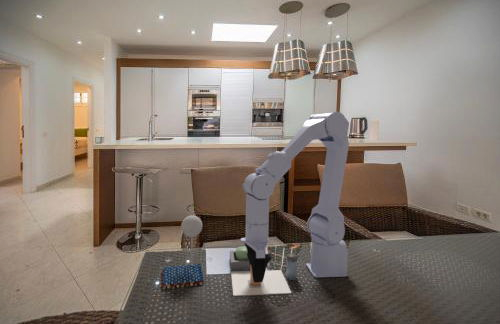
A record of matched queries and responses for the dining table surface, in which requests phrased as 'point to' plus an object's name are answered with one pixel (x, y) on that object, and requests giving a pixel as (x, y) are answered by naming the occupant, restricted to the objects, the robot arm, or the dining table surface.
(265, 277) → the paper
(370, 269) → the dining table surface
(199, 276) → the woven mat
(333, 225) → the robot arm
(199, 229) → the lollipop
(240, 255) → the button
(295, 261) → the marker slate
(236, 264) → the button housing
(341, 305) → the dining table surface
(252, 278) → the marker terracotta
